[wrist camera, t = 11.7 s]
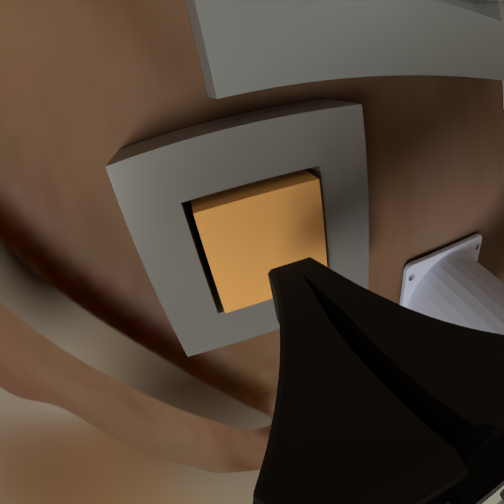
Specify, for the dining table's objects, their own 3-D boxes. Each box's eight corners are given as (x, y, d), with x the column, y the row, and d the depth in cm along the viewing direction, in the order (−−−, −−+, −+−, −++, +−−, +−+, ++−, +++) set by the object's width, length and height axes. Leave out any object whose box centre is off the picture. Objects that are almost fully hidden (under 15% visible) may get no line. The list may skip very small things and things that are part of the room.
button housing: (340, 265, 17) (367, 296, 15) (182, 315, 16) (187, 356, 14) (325, 98, 13) (361, 104, 10) (119, 149, 12) (105, 166, 9)
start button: (301, 246, 15) (327, 279, 13) (214, 272, 15) (225, 313, 12) (288, 159, 13) (318, 178, 11) (187, 186, 13) (193, 213, 10)
